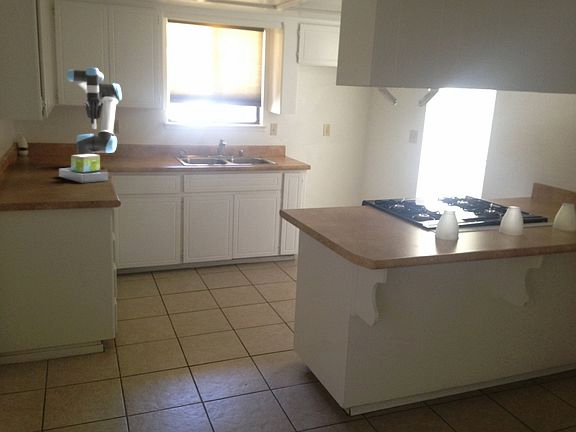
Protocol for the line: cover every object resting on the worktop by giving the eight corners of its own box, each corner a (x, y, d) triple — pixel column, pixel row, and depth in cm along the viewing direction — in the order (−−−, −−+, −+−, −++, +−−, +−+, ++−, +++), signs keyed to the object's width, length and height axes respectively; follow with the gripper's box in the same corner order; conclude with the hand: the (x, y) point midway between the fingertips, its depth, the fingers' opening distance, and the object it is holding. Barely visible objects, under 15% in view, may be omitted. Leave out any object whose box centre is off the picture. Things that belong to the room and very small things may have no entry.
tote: (84, 174, 343) (84, 166, 342) (108, 180, 324) (107, 172, 323) (59, 176, 330) (58, 168, 329) (82, 183, 312) (82, 174, 311)
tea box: (84, 180, 320) (83, 156, 317) (71, 179, 323) (69, 155, 320) (100, 177, 334) (100, 154, 331) (88, 176, 337) (87, 153, 334)
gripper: (98, 92, 348) (100, 127, 354) (80, 91, 338) (82, 128, 344) (105, 92, 344) (106, 129, 350) (87, 92, 334) (88, 129, 340)
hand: (94, 128), depth 347 cm, fingers closed
